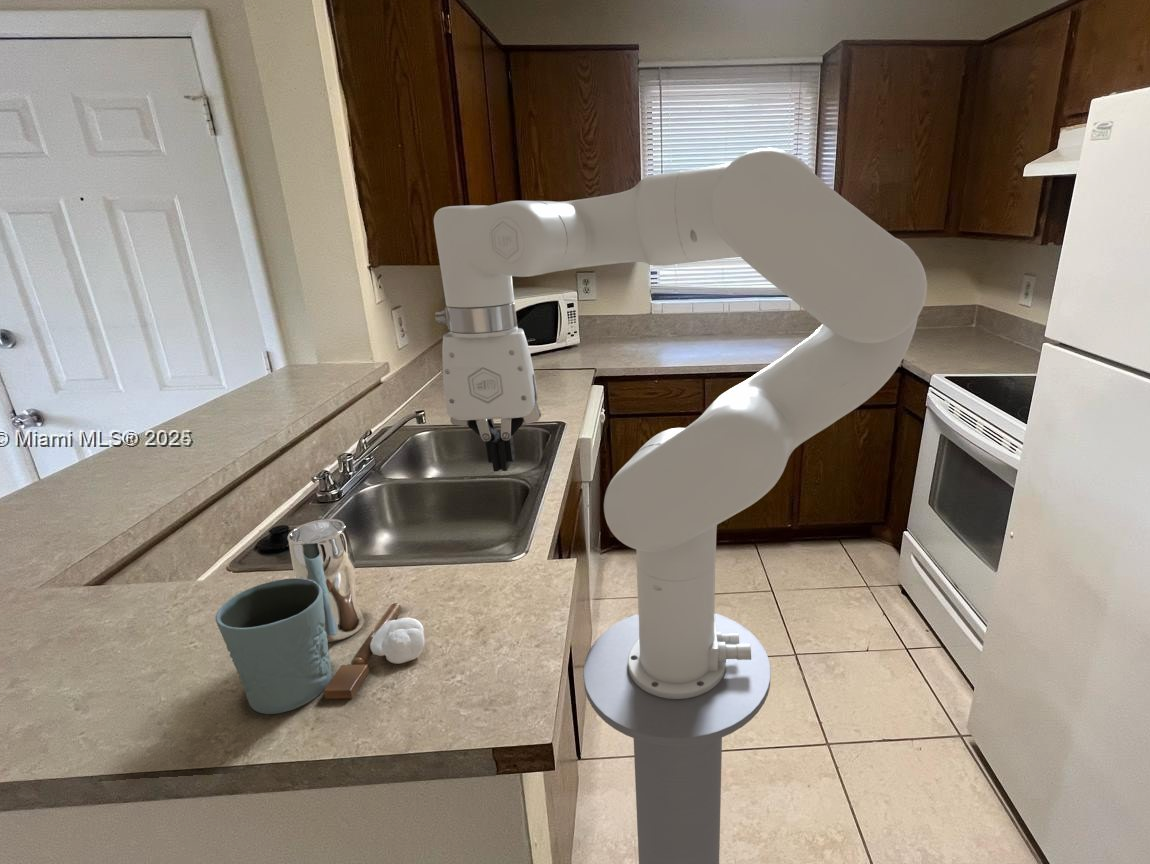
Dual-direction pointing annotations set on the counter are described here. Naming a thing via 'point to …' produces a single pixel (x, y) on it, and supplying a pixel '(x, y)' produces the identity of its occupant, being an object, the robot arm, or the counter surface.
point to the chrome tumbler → (329, 572)
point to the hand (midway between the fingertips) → (502, 466)
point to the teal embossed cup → (278, 643)
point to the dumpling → (399, 640)
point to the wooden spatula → (357, 664)
